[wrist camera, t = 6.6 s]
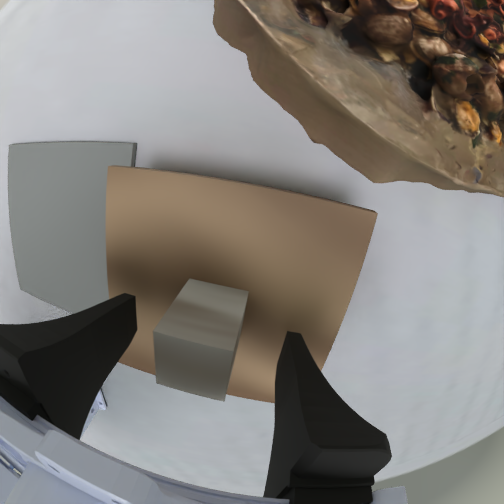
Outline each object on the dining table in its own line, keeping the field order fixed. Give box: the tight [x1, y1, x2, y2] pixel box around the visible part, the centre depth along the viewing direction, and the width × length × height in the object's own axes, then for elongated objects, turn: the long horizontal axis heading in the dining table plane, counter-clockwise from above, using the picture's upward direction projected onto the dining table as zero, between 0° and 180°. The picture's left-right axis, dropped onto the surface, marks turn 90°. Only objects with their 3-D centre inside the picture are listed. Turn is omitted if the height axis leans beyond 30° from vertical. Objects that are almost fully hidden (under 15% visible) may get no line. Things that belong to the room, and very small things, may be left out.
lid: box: [106, 165, 378, 403], centre depth 12 cm, size 13×13×5 cm
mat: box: [8, 142, 137, 314], centre depth 19 cm, size 15×15×1 cm
